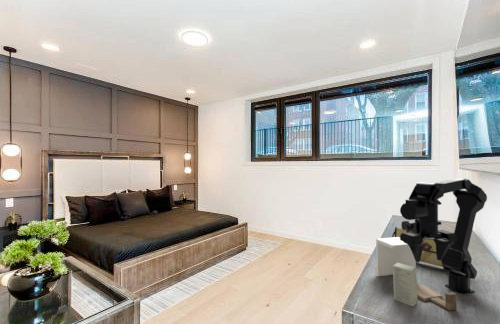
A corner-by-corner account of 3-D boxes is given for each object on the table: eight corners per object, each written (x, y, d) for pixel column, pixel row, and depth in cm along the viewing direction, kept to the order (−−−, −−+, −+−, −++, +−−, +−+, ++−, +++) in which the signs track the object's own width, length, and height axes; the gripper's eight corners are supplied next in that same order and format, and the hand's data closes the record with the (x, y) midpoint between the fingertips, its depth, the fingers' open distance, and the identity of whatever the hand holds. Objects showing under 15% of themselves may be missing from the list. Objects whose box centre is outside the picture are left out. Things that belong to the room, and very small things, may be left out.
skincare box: (417, 302, 85) (417, 267, 85) (412, 307, 82) (412, 270, 82) (397, 295, 90) (397, 261, 90) (392, 299, 87) (392, 264, 87)
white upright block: (398, 272, 108) (397, 236, 108) (416, 282, 99) (415, 243, 99) (376, 275, 105) (376, 238, 105) (393, 285, 96) (392, 245, 97)
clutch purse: (389, 257, 125) (388, 228, 125) (394, 254, 130) (394, 225, 130) (465, 278, 103) (465, 242, 103) (468, 273, 107) (468, 238, 107)
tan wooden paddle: (422, 287, 95) (422, 273, 95) (462, 309, 80) (462, 293, 80) (404, 289, 93) (404, 275, 93) (443, 312, 79) (442, 296, 79)
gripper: (429, 212, 98) (429, 251, 98) (388, 214, 94) (388, 255, 94) (457, 218, 87) (458, 262, 87) (413, 220, 83) (413, 267, 83)
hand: (428, 261), depth 88 cm, fingers open, 9 cm apart
